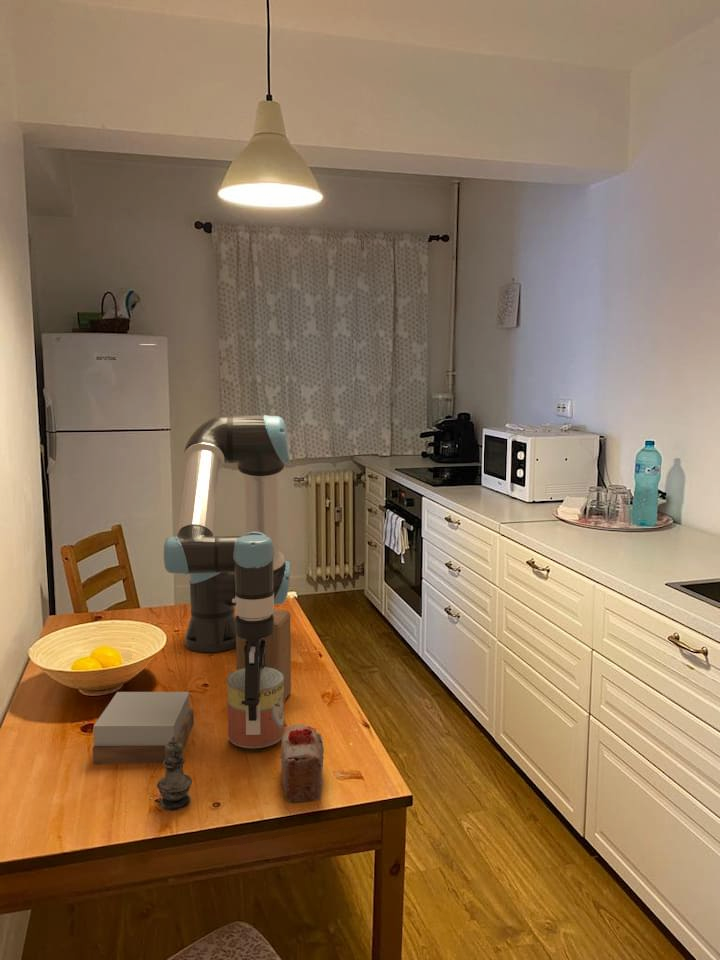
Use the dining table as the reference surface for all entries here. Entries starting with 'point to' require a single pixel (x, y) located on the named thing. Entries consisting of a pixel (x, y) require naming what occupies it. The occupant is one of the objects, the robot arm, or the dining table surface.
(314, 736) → the food item
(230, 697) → the canned food
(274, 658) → the wooden block
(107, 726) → the grey block
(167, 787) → the dark chess piece
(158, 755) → the walnut block
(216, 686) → the dining table surface
